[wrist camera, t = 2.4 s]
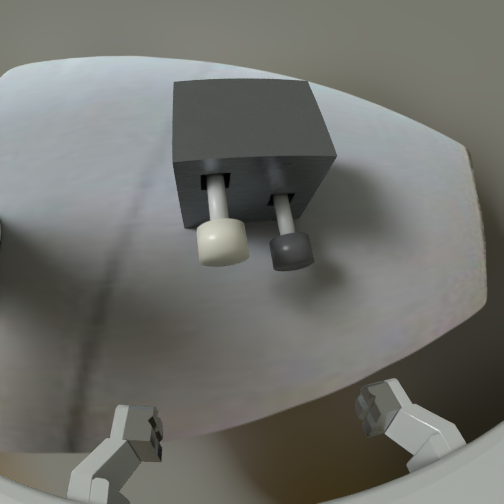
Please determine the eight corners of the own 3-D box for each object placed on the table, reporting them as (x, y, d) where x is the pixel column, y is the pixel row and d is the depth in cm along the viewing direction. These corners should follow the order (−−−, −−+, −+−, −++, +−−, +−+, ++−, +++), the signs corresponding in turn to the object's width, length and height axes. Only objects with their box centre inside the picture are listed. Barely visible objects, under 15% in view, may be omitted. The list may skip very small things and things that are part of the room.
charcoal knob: (307, 268, 36) (319, 256, 32) (270, 273, 35) (278, 261, 31) (291, 195, 39) (300, 177, 35) (257, 197, 38) (263, 178, 34)
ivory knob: (246, 263, 30) (252, 248, 26) (200, 268, 29) (198, 253, 25) (234, 178, 33) (237, 153, 29) (193, 181, 32) (191, 157, 28)
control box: (298, 218, 42) (337, 155, 28) (184, 228, 40) (172, 162, 26) (282, 151, 46) (307, 81, 32) (181, 156, 43) (173, 82, 29)
